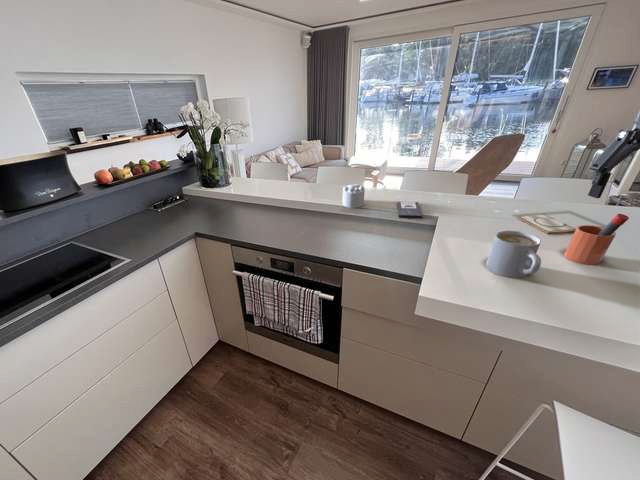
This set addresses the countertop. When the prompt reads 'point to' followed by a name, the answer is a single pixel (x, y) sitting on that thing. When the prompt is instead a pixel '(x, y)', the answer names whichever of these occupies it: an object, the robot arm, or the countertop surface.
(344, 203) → the lumpy-topped squat cylinder
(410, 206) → the chocolate bar
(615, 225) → the marker
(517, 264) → the coffee mug
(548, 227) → the sketch pad
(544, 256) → the countertop surface
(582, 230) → the pen cup
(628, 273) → the countertop surface
